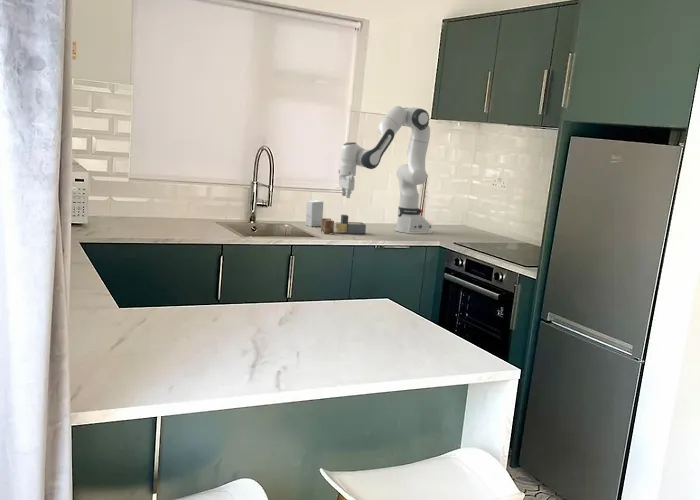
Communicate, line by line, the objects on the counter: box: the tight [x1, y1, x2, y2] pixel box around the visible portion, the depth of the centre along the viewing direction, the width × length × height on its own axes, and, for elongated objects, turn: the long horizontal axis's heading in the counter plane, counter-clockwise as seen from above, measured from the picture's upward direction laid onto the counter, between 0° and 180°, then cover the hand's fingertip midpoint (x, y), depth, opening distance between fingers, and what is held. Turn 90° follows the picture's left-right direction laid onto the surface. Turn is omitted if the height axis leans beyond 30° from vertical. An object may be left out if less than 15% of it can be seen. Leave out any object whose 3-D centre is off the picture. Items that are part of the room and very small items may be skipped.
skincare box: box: [305, 199, 324, 227], centre depth 413 cm, size 8×6×15 cm
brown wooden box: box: [320, 217, 335, 234], centre depth 394 cm, size 5×9×7 cm, turn 15°
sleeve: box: [345, 221, 367, 236], centre depth 398 cm, size 10×8×6 cm
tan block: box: [335, 214, 361, 233], centre depth 397 cm, size 14×4×9 cm, turn 105°
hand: (345, 196), depth 393 cm, fingers open, 8 cm apart
